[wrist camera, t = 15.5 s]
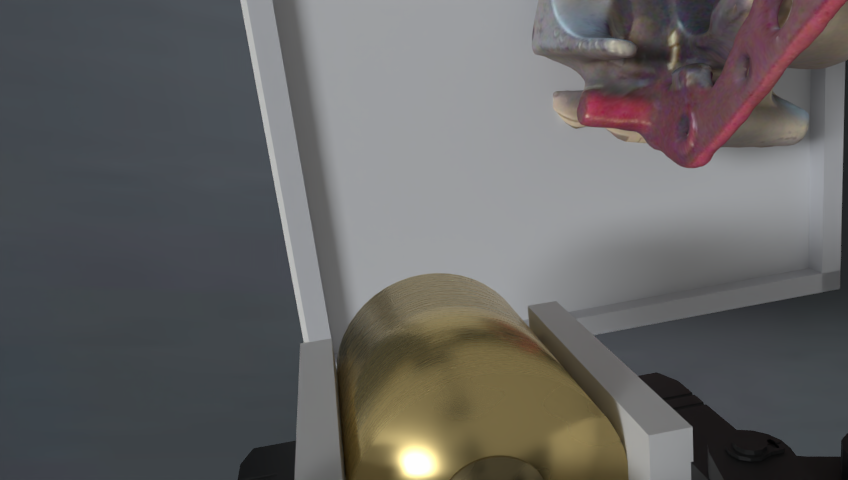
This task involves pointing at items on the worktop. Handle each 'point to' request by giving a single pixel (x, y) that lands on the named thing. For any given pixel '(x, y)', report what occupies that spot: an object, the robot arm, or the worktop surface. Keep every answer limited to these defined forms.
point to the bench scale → (518, 174)
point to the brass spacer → (462, 392)
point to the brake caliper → (689, 68)
